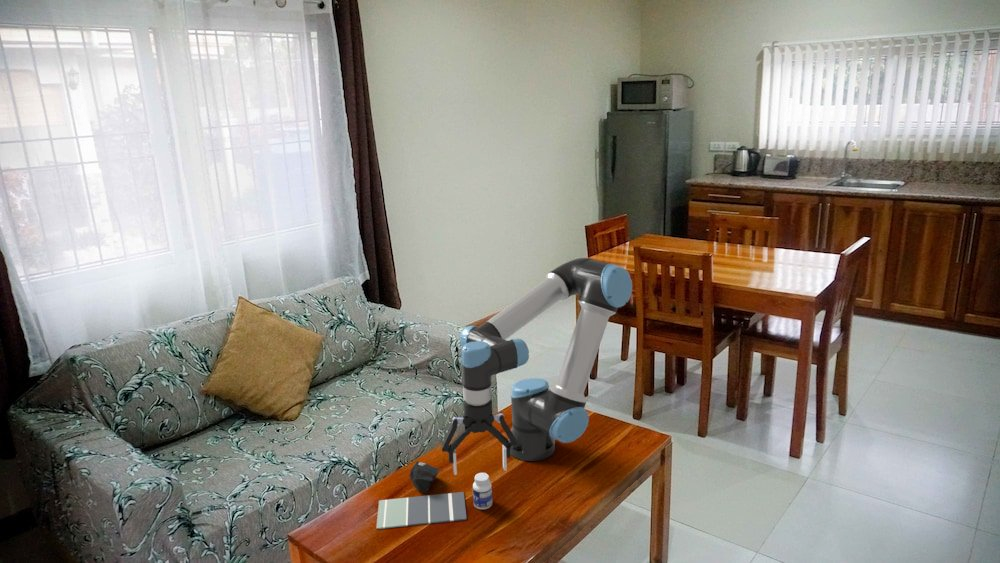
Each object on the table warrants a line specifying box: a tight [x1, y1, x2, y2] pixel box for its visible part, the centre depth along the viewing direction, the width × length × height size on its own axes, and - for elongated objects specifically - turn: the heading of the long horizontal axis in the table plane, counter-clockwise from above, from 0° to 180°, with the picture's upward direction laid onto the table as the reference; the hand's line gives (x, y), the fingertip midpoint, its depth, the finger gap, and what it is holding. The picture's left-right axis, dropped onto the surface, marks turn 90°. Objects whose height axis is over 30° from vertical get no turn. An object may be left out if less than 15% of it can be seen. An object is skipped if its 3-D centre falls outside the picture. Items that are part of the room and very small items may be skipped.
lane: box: [375, 491, 467, 530], centre depth 177 cm, size 24×12×1 cm, turn 97°
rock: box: [409, 461, 440, 494], centre depth 188 cm, size 10×9×6 cm
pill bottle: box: [472, 472, 493, 510], centre depth 177 cm, size 5×5×9 cm
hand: (480, 470), depth 175 cm, fingers open, 13 cm apart
